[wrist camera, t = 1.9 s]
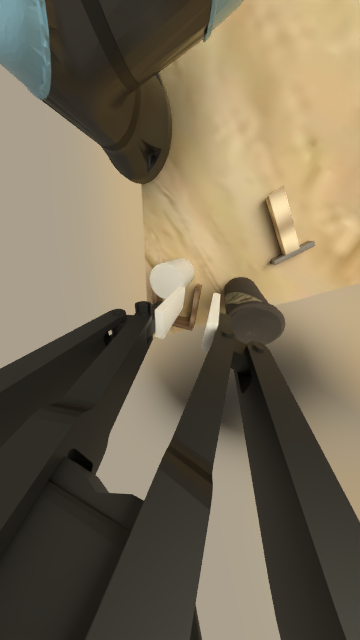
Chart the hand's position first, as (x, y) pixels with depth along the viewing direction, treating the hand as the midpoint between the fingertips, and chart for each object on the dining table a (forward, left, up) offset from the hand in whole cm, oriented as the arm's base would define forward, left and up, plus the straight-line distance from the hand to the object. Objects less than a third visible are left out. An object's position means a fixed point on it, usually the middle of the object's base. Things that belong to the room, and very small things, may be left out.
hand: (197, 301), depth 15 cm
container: (+5, +9, -25) cm, 27 cm away
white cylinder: (+3, -9, -25) cm, 26 cm away
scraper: (-10, +13, -25) cm, 30 cm away
